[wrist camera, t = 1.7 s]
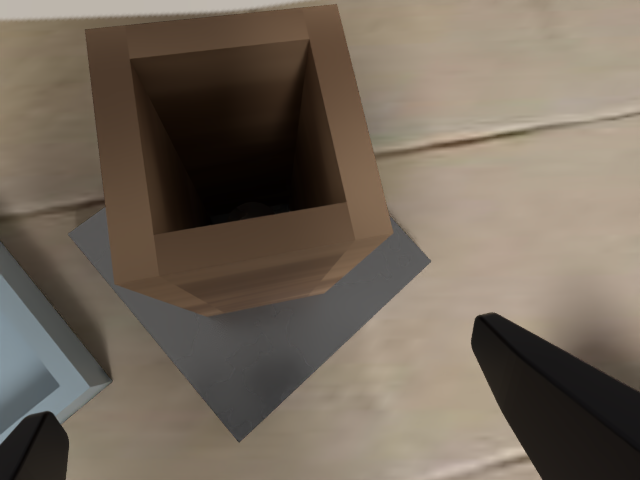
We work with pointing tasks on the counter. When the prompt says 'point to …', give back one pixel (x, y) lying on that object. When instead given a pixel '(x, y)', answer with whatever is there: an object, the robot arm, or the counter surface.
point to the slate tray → (39, 354)
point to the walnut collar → (234, 157)
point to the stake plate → (261, 324)
